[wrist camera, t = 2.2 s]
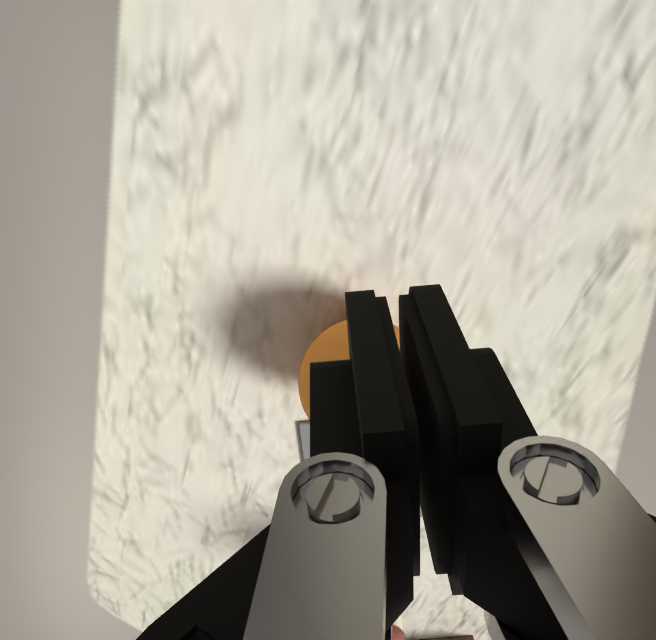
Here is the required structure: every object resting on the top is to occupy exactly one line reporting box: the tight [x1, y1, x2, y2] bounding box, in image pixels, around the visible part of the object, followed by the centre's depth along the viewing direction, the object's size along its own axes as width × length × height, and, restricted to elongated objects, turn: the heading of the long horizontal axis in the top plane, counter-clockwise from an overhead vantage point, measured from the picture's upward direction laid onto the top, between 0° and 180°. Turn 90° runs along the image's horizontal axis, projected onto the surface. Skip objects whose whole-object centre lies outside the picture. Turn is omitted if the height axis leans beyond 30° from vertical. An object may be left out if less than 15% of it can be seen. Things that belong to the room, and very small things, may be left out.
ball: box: [298, 320, 400, 420], centre depth 26 cm, size 6×6×6 cm
